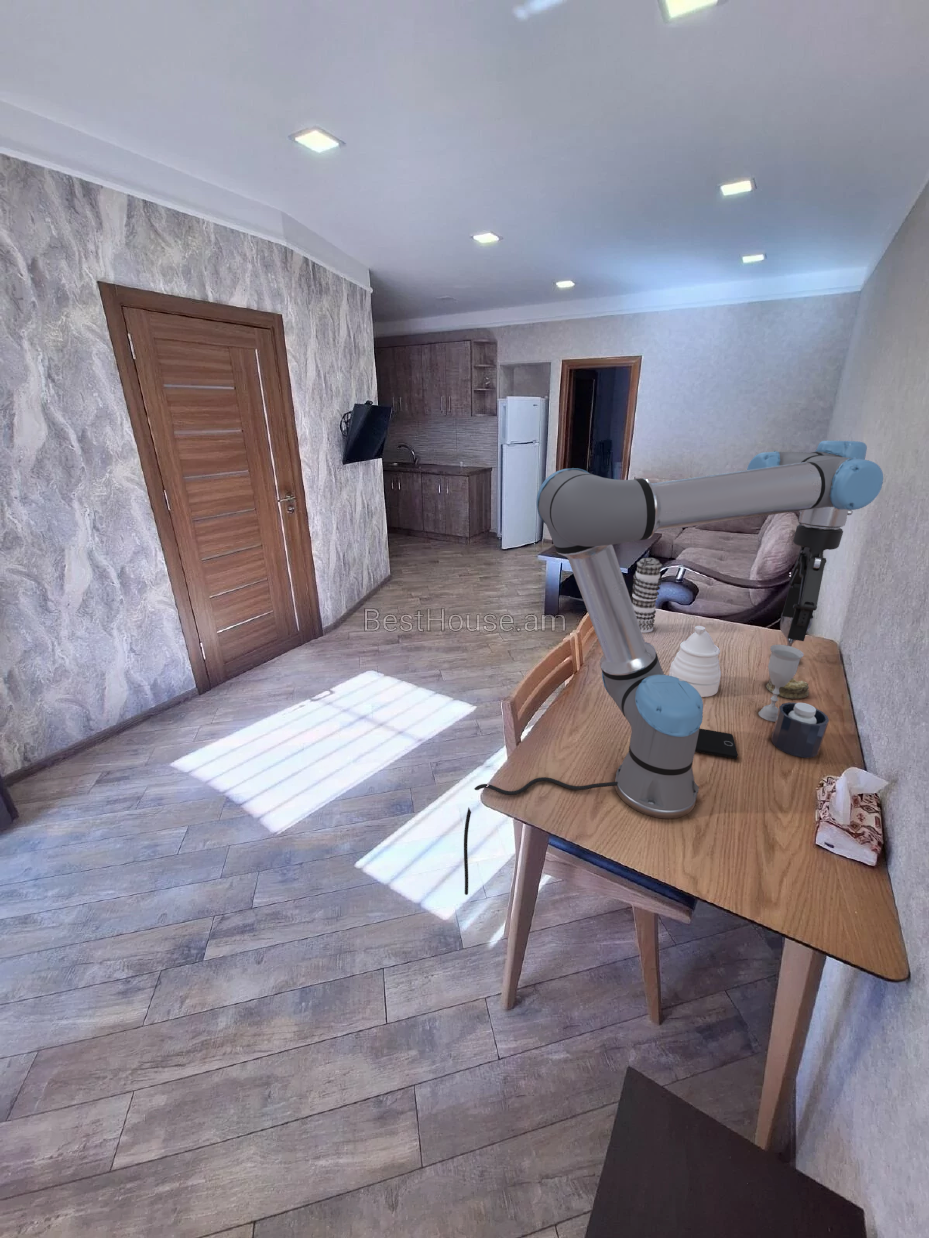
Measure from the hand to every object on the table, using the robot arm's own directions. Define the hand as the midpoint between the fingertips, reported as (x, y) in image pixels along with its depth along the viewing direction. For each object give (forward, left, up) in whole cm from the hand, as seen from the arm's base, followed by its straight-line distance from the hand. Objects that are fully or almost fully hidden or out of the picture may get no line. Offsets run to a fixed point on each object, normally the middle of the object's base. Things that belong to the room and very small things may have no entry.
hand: (792, 627), depth 104 cm
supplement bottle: (+6, -3, -29) cm, 29 cm away
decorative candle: (+16, +66, -29) cm, 74 cm away
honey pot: (+4, +27, -29) cm, 40 cm away
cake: (+26, +16, -29) cm, 42 cm away
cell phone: (-15, +6, -29) cm, 33 cm away
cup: (+6, -3, -29) cm, 30 cm away
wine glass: (+42, +30, -29) cm, 59 cm away
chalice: (+11, +8, -29) cm, 32 cm away
